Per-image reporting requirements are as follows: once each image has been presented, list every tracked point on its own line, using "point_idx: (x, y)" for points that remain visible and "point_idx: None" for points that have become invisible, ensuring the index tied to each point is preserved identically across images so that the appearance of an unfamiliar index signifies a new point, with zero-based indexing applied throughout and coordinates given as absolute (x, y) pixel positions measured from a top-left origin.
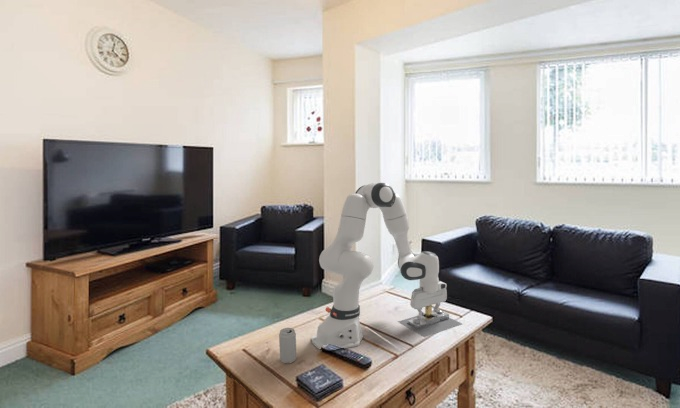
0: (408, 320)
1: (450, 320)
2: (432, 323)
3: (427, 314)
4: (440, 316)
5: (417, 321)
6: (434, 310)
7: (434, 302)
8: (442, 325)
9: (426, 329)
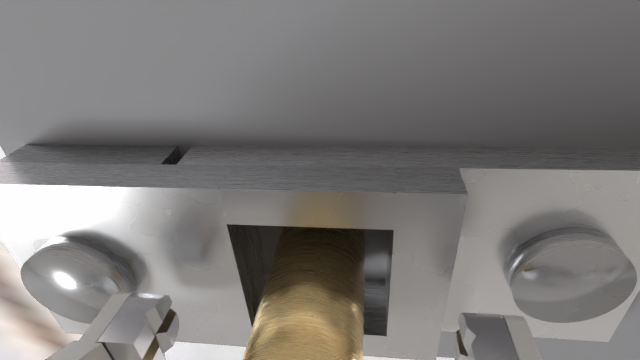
0: (599, 336)
1: (25, 91)
2: (343, 150)
3: (355, 308)
4: (147, 188)
5: (603, 261)
6: (166, 329)
7: None
8: (237, 21)
9: (603, 49)
